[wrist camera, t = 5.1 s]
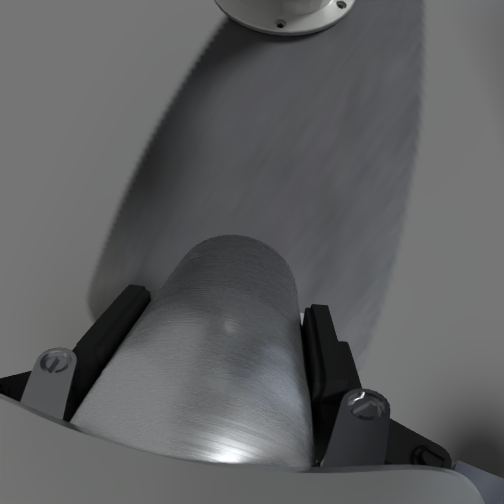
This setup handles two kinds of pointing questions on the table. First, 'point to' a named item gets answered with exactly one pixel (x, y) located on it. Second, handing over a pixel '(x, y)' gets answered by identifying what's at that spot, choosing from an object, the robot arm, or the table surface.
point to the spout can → (213, 364)
